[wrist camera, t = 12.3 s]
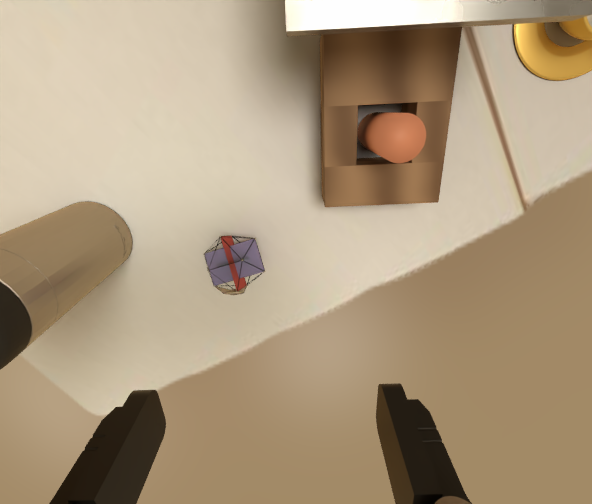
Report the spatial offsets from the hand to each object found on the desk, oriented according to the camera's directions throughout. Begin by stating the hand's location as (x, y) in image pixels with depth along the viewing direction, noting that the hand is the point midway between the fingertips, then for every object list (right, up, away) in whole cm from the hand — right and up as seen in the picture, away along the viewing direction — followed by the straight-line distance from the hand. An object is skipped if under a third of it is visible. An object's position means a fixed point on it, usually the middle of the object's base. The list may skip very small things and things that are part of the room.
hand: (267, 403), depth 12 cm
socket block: (+10, +19, +24) cm, 32 cm away
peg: (+10, +19, +24) cm, 33 cm away
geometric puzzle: (-7, +6, +31) cm, 32 cm away
